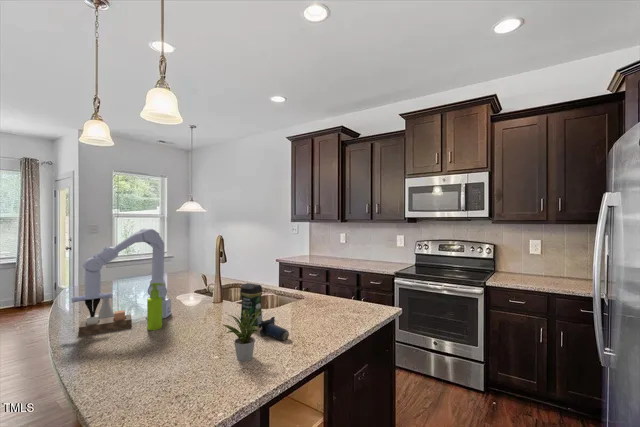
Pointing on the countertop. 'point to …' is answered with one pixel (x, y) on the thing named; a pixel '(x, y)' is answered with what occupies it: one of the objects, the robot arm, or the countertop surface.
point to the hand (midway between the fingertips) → (92, 316)
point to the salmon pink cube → (119, 315)
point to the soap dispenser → (154, 309)
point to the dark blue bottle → (273, 329)
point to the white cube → (92, 319)
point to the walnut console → (105, 325)
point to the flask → (106, 309)
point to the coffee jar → (251, 302)
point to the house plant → (244, 337)
